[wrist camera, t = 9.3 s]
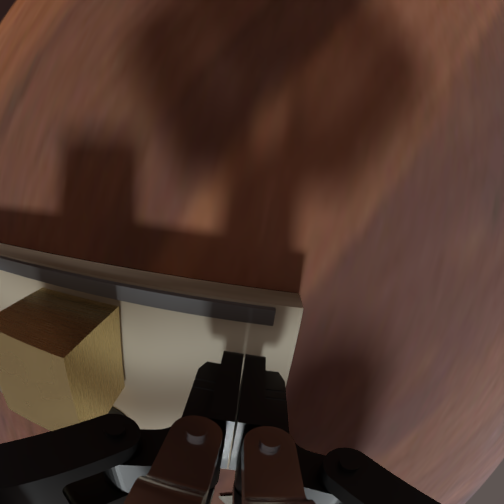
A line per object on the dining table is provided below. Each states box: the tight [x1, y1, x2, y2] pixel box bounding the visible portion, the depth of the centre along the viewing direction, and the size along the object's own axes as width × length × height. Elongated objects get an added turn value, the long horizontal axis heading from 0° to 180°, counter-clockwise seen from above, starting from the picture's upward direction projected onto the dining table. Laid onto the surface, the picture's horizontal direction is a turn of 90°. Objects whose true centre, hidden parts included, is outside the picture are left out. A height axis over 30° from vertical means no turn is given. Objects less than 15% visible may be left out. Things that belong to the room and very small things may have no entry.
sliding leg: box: [0, 287, 125, 431], centre depth 10 cm, size 7×4×4 cm, turn 173°
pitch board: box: [0, 243, 304, 470], centre depth 12 cm, size 10×22×2 cm, turn 83°
